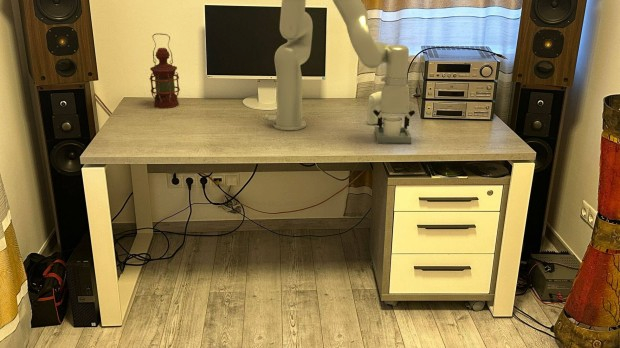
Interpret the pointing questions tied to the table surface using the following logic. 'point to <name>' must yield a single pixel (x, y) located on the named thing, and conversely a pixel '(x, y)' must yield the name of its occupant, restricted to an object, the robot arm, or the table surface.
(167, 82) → the lantern
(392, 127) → the white cylinder
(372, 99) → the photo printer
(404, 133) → the parts tray
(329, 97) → the table surface
